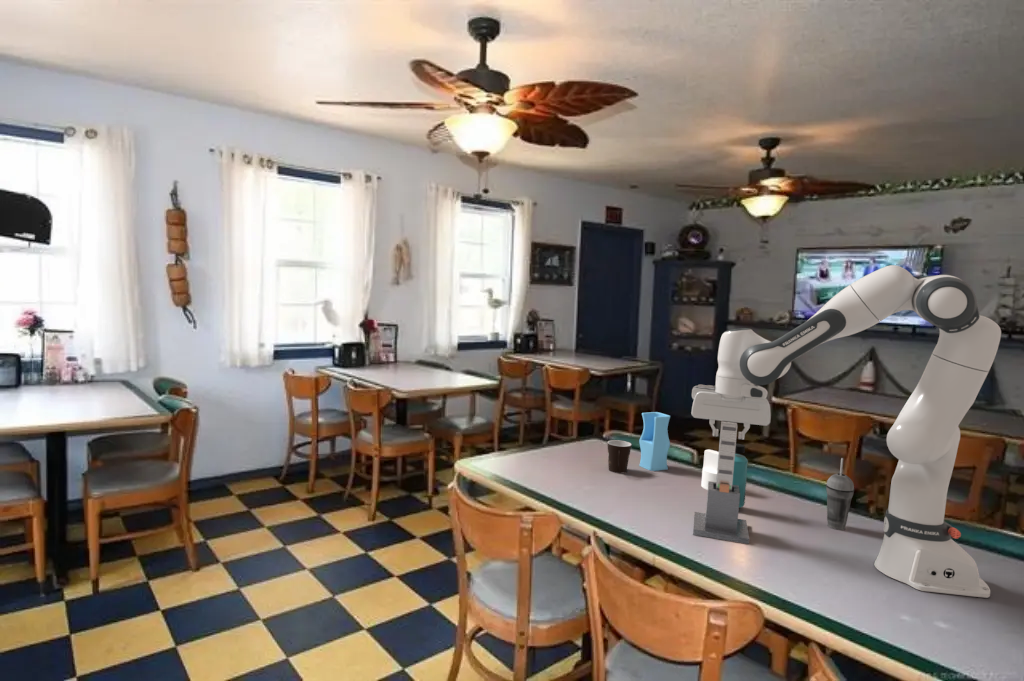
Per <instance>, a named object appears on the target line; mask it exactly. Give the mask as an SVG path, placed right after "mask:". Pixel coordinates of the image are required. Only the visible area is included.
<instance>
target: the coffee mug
mask: <svg viewBox="0 0 1024 681" xmlns="http://www.w3.org/2000/svg"><path fill="white" fill-rule="evenodd" d="M606 445H607V463H608V465H607V466H608V470H609V471H610V472H612V473H614V474H615V473H617V474H624V473H627V471H628V465H629V460H630V456H631V450H632V443H631V442H629V441H625V440H618V439H617V440H615V439H613V440H608V441H607V444H606Z"/></svg>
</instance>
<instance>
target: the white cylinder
mask: <svg viewBox="0 0 1024 681" xmlns="http://www.w3.org/2000/svg"><path fill="white" fill-rule="evenodd" d="M703 453H704V455H703V466H702V471H701V482H700V487H702V489H704V490H706V491H708V481H710V482H716V479H717V467H718V455H719V451H717V450H713V449H710V448H709V449H705V450H704V452H703Z"/></svg>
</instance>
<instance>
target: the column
mask: <svg viewBox="0 0 1024 681" xmlns="http://www.w3.org/2000/svg"><path fill="white" fill-rule="evenodd" d="M720 423H721V424H720V433H719V445H718V452H719V455H718V467H717V479H716V489H717V490H719V487H720V483H721V484H728V485H729V491H730V492H732V482H733V471H734V459H735V454H736V452H735V448H736V444H737V434H738V423H737V422H728V421H721V422H720Z"/></svg>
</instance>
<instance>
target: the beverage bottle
mask: <svg viewBox="0 0 1024 681" xmlns="http://www.w3.org/2000/svg"><path fill="white" fill-rule="evenodd" d="M745 451H746V449H745V445H744V444H740V443H736V448H735V459H734V471H733V482H732V485H738V486H739V492H740V500H739V508H744V506H745V503H746V501H745V500H746V491H747V478H748V474H747V473H748V472H747V471H748V463H749V460H748V459H747V458H746V456H745V455H743V454H745Z"/></svg>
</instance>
